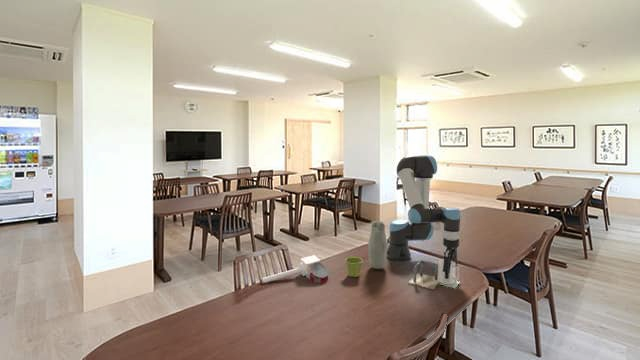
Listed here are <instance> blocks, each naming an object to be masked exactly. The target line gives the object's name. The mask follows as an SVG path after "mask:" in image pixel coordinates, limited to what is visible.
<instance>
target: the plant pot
mask: <svg viewBox="0 0 640 360" xmlns="http://www.w3.org/2000/svg"><path fill="white" fill-rule="evenodd" d="M345 263H346V267H347V273H348V277H350V278H351V277H352V278H357V277H359V276H360V275H361V266H362V263H363V259H362V258H361V257H356V256H355V257H353V256H351V257H347V258H345Z"/></svg>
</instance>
